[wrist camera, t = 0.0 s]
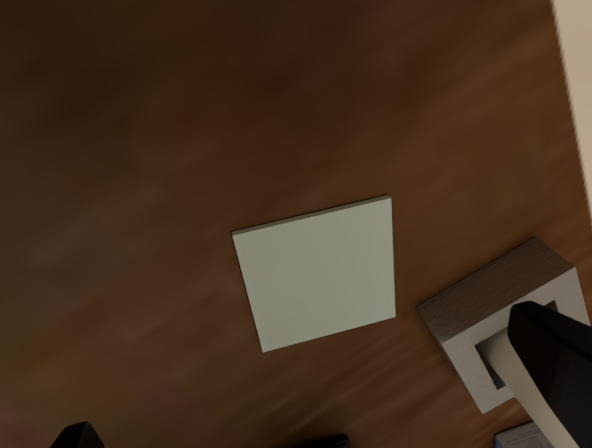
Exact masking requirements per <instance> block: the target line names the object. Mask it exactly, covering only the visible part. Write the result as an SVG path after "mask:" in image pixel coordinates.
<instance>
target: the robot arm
mask: <svg viewBox="0 0 592 448" xmlns="http://www.w3.org/2000/svg"><path fill="white" fill-rule="evenodd" d="M507 336H508V339H509V341H510V343H511V345H512V347H513V348H514V350H515V352H516V353H517V355H518V357H519V358H520V360H521V362H522V363H523V365H524V367H525V368H526V370H527V372H528V373H529V375H530V377H531V378H532V380H533V382H534V383H535V385H536V387H537V388H538V390H539V392H540V393H541V395H542V397H543V398H544V400H545V401H546V403H547V404H548V406H549V407H550V409H551V410H552V411H553V413H554V414H555V416H556V417H557V418H558V420H559V421H560V422H561V424H562V425H563V426H564V428H565V429H566V430H567V432H568V433H569V434H570V436H571V437H572V438H573V440H574V441H575V443H576V444H577V445H578V447H579V448H592V327H591V326H589V325H587V324H584V323H582V322H580V321H577V320H575V319H573V318H571V317H568V316H566V315H564V314H561V313H559V312H557V311H555V310H552V309H550V308H548V307H545V306H543V305H541V304H539V303H536V302H534V301H524V302H520V303H517V304H514V305H512V307H511V308H510V313H509V320H508V327H507ZM50 448H105V447H104V444H103V442H102V441H101V439H100V438H99V436H98V434H97V433H96V431H95V430H94V428H93V426H92V425H91V424H90V423H89V422H87V421H84V422H80V423H77V424H73V425H70V426H67V427H66V428H65V429H64V430H63V431H62V432H61V433H60V435H59V436H58V437H57V439H56V440H55V441H54V443H53V444H52V446H51V447H50ZM302 448H350V443H349V440H348V437H347V436H344V435H343V436H339V437H336V438H332V439H329V440H325V441H322V442H319V443H315V444H312V445H308V446H305V447H302Z"/></svg>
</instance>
